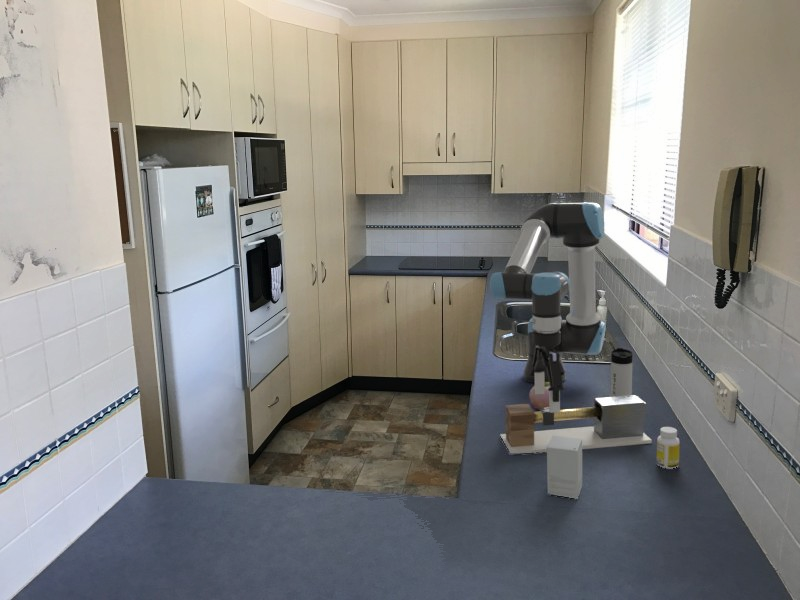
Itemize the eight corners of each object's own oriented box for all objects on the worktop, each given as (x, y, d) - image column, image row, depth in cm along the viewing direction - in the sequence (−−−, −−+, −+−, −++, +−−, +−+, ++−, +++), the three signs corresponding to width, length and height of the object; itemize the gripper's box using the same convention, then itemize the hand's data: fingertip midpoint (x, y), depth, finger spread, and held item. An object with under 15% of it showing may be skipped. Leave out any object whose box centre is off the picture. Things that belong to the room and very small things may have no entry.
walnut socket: (506, 438, 187) (505, 405, 185) (528, 436, 188) (527, 403, 185) (511, 447, 181) (510, 413, 179) (534, 445, 182) (534, 411, 180)
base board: (500, 437, 190) (500, 434, 190) (632, 426, 193) (632, 423, 193) (510, 455, 178) (510, 452, 178) (651, 443, 181) (651, 439, 181)
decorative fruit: (538, 403, 214) (538, 374, 212) (561, 408, 209) (561, 379, 207) (523, 412, 207) (523, 382, 205) (547, 418, 202) (546, 387, 200)
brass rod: (512, 423, 185) (511, 409, 184) (601, 415, 187) (601, 402, 186) (515, 428, 181) (515, 414, 181) (605, 420, 183) (606, 407, 183)
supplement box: (583, 486, 160) (583, 438, 158) (577, 500, 154) (578, 451, 151) (552, 481, 163) (552, 434, 161) (546, 495, 157) (546, 446, 154)
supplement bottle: (680, 463, 169) (682, 427, 167) (676, 471, 165) (678, 435, 163) (658, 458, 172) (660, 424, 170) (654, 467, 168) (655, 431, 166)
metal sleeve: (593, 430, 189) (594, 398, 187) (635, 427, 190) (636, 394, 188) (602, 439, 183) (602, 405, 181) (645, 435, 184) (646, 402, 182)
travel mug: (628, 407, 207) (629, 347, 203) (633, 416, 200) (635, 353, 196) (607, 408, 208) (609, 347, 203) (612, 416, 201) (613, 354, 197)
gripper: (520, 319, 190) (521, 387, 195) (547, 343, 166) (547, 421, 171) (545, 317, 191) (546, 385, 195) (575, 341, 166) (575, 418, 171)
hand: (546, 402), depth 183 cm, fingers open, 13 cm apart
